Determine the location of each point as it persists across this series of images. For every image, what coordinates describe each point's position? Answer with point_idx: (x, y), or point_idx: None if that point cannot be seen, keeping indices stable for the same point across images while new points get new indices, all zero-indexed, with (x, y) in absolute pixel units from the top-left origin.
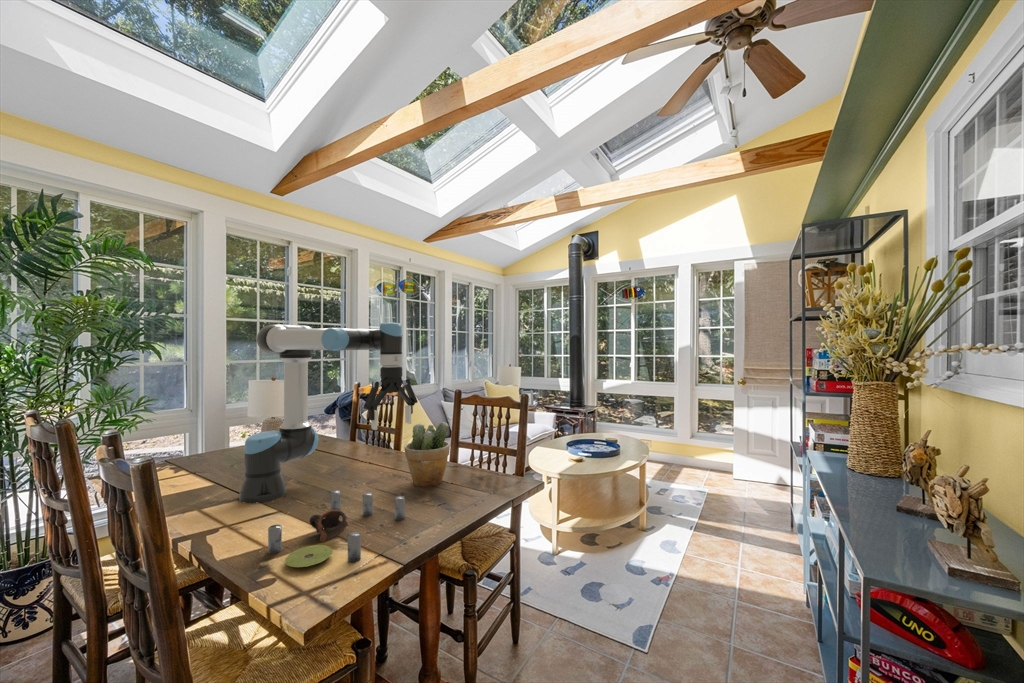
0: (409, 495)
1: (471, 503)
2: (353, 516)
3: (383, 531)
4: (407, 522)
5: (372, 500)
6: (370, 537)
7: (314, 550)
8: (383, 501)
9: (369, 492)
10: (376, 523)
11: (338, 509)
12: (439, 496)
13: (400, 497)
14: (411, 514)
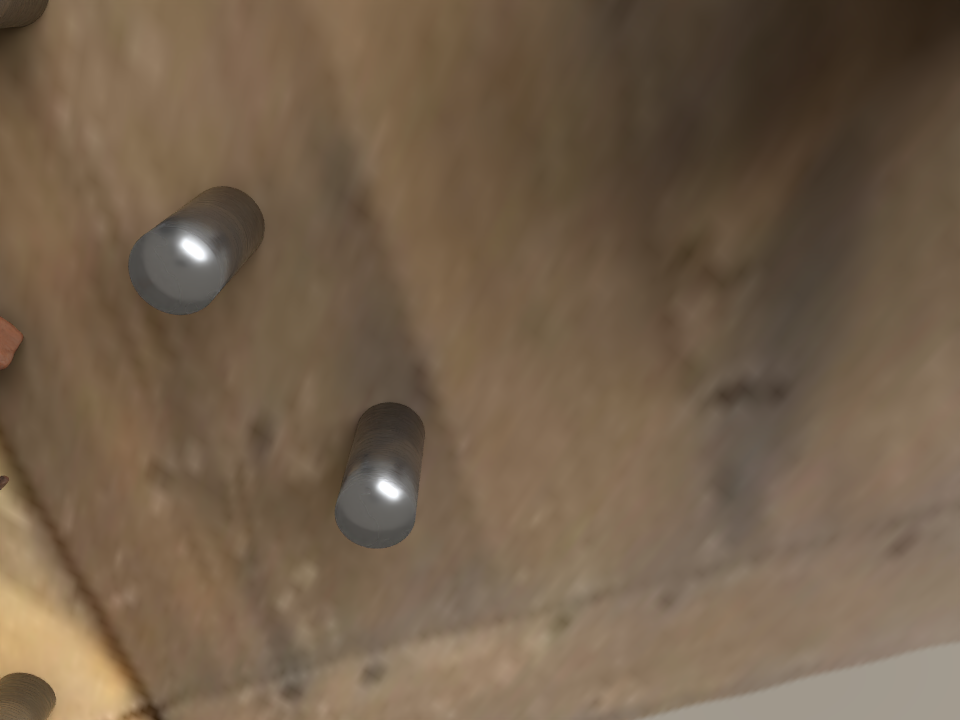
0: (678, 45)
1: (902, 511)
2: (127, 169)
3: (241, 515)
4: None
5: (227, 282)
6: (154, 535)
7: None
8: (431, 21)
9: (200, 239)
10: (239, 390)
11: (11, 24)
12: (843, 249)
13: (382, 511)
14: (489, 411)
